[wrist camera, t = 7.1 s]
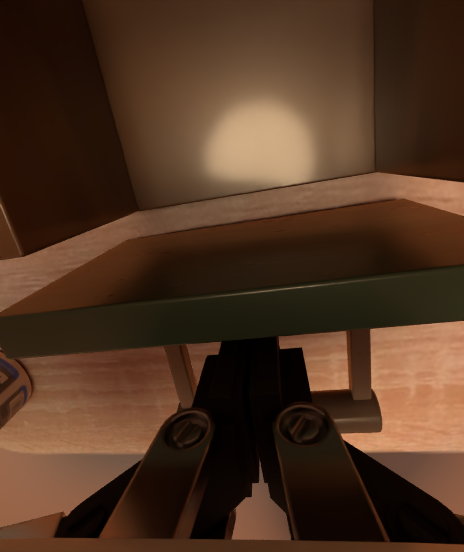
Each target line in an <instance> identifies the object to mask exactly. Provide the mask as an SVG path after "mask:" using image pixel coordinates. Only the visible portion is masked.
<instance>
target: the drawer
mask: <svg viewBox="0 0 464 552" xmlns="http://www.w3.org/2000/svg"><path fill="white" fill-rule="evenodd" d="M375 172H380V173H388V174H397V175H405V176H414V177H422V178H431V179H439V180H447V181H456V182H464V0H0V260H6V259H12V258H19V257H25V256H27V255H30V254H32V253H35V252H37V251H40V250H42V249H45V248H47V247H50V246H52V245H55V244H57V243H60V242H62V241H65V240H67V239H70V238H72V237H75V236H77V235H80V234H82V233H85V232H87V231H90V230H92V229H95V228H98V227H100V226H103V225H105V224H108V223H110V222H113V221H115V220H118V219H120V218H123V217H125V216H128V215H130V214H133V213H135V212H137V211H144V210H150V209H156V208H162V207H168V206H174V205H180V204H186V203H192V202H198V201H204V200H210V199H217V198H223V197H229V196H235V195H241V194H247V193H253V192H259V191H265V190H271V189H277V188H284V187H290V186H296V185H302V184H308V183H314V182H320V181H326V180H332V179H338V178H344V177H351V176H357V175H363V174H369V173H375ZM455 321H464V216H461V215H458V214H454V213H451V212H448V211H444V210H441V209H437V208H434V207H430V206H427V205H424V204H420V203H417V202H413V201H410V200H406V199H399V200H393V201H386V202H379V203H372V204H366V205H359V206H352V207H345V208H339V209H332V210H325V211H319V212H312V213H305V214H298V215H292V216H285V217H278V218H272V219H265V220H258V221H251V222H245V223H238V224H231V225H224V226H218V227H211V228H204V229H198V230H191V231H184V232H177V233H171V234H164V235H157V236H150V237H144V238H137V239H130V240H126V241H125V242H123V243H121V244H119V245H118V246H116V247H114V248H112V249H111V250H109V251H107V252H105V253H103V254H102V255H100V256H98V257H96V258H95V259H93V260H91V261H89V262H88V263H86V264H84V265H82V266H81V267H79V268H77V269H75V270H74V271H72V272H70V273H68V274H67V275H65V276H63V277H61V278H60V279H58V280H56V281H54V282H53V283H51V284H49V285H47V286H46V287H44V288H42V289H40V290H38V291H37V292H35V293H33V294H31V295H30V296H28V297H26V298H24V299H23V300H21V301H19V302H17V303H16V304H14V305H12V306H10V307H9V308H7V309H5V310H3V311H2V312H0V346H1V348H2V350H3V352H4V354H5V356H6V358H7V359H21V358H32V357H44V356H56V355H68V354H79V353H91V352H103V351H115V350H126V349H138V348H150V347H162V346H164V348H165V352H166V355H167V359H168V362H169V366H170V369H171V373H172V376H173V380H174V383H175V387H176V390H177V394H178V397H179V401H180V402H179V405H178V408H177V412H178V411H180V410H184V409H187V408H191V406H192V403H193V400H194V396H195V393H196V390H197V384H196V380H195V376H194V372H193V368H192V365H191V361H190V357H189V353H188V349H187V345H186V344H197V343H209V342H220V341H232V340H244V339H256V338H267V337H279V336H291V335H303V334H314V333H326V332H338V331H346V334H347V355H348V375H349V389H343V390H324V391H310V392H311V397H312V402H313V403H314V404H317V405H319V406H321V407H323V408H324V409H325V410H327V411H328V412H329V413H330V415H331V416H332V418H333V419H334V421H335V423H336V425H337V428H338V430H339V432H340V434H342V433H373V432H381V430H382V416H381V411H380V406H379V403H378V400H377V397H376V394H375V392H374V391H373V389H371V345H370V329H373V328H385V327H397V326H408V325H420V324H432V323H444V322H455Z"/></svg>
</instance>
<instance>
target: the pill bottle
mask: <svg viewBox="0 0 464 552" xmlns="http://www.w3.org/2000/svg"><path fill="white" fill-rule="evenodd" d="M31 390H32V388H31V382H30V380H29V377H28V375H27V374H26V372H25V370H24V369H23V368H22V367H21V365H20V364H19V363H18V362H17V361H15V360H14V359H7V358H6V356H5V354H4V353H1V352H0V429H1V428H2V427H3V426H4V425H5V424H6V423H7V422H8V421H9V420H10V419H11V418H12V417H13V416H14V415H15V414H16V413H17V412H18V411H19V410H20V409H21V408H22V407H23V406H24V405H25V404H26V402H27V401H28V400H29V398H30V395H31Z"/></svg>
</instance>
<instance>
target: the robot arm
mask: <svg viewBox="0 0 464 552" xmlns="http://www.w3.org/2000/svg"><path fill="white" fill-rule="evenodd" d="M259 461H260V462H261V468H262V473H263V478H264V482H265V483H268V487H269V493H270V498H271V499H272V500H273V501H274V502H275V503H276V504H277V505H278V506H279V507H280V508H281V509H282V510H283V511H284V512H285V513H286V516H287V522H288V527H289V532H290V538H291V540H231V539H232V535H233V530H234V525H235V521H236V509H235V508H236V507H237V506H238V505H239V504H240V503H241V502H242V501H243V500H244V499H245V497H252V483H259ZM0 552H464V516H463V515H458V514H453V512H452V511H451V510H449V509H448V508H447V507H446V506H444V505H443V504H442V503H441V502H439V501H438V500H437V499H435V498H433V497H432V496H430V495H429V494H427V493H425V492H424V491H423V490H421V489H419V488H418V487H416V486H415V485H413V484H412V483H410V482H408V481H407V480H405V479H404V478H402V477H401V476H399V475H398V474H396V473H394V472H393V471H391V470H390V469H388V468H387V467H385V466H383V465H382V464H380V463H379V462H377V461H376V460H374V459H373V458H371V457H369V456H368V455H366V454H365V453H363V452H362V451H360V450H358V449H357V448H355V447H354V446H352V445H351V444H349V443H348V442H346V441H344V440H343V438H342V436H341V434H340V432H339V430H338V428H337V425H336V423H335V421H334V419H333V418H332V416H331V415H330V413H329V412H328V411H327V410H325V409H324V408H323V407H321V406H319V405H317V404H314V403H313V402H312V397H311V392H310V387H309V381H308V376H307V371H306V366H305V361H304V356H303V350H302V347H301V348H289V349H280V346H279V338H278V337H267V338H256V339H244V340H232V341H222V342H221V346H220V350H219V354H217V355H208V356H207V357H206V360H205V363H204V367H203V370H202V373H201V377H200V380H199V383H198V386H197V390H196V393H195V396H194V400H193V403H192V406H191V408H187V409H184V410H180V411H178V412H176V413H175V414H173V415H171V416H170V417H169V418H168V419H167V420H166V421H165V422H164V423H163V425H162V426H161V427H160V429H159V431H158V433H157V434H156V436H155V438H154V440H153V442H152V443H151V445H150V447H149V449H148V450H147V452H146V454H145V456H144V458H143V459H142V460H141V461H139V462H138V463H136V464H135V465H133V466H132V467H131V468H129V469H128V470H126V471H125V472H124V473H122V474H121V475H119V476H118V477H117V478H115V479H114V480H113V481H111V482H110V483H108V484H107V485H106V486H104V487H103V488H101V489H100V490H98V491H97V492H96V493H94V494H93V495H91V496H90V497H89V498H87V499H86V500H85V501H83V502H82V503H81V504H79V505H78V506H77V507H76V508H75V509H74V510H72V511H71V513H70V514H69V515H68V516H66V515H65V514H64V512H60V513H55V514H52V515H48V516H44V517H40V518H36V519H32V520H28V521H24V522H20V523H17V524H12V525H8V526H4V527H1V528H0Z"/></svg>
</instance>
